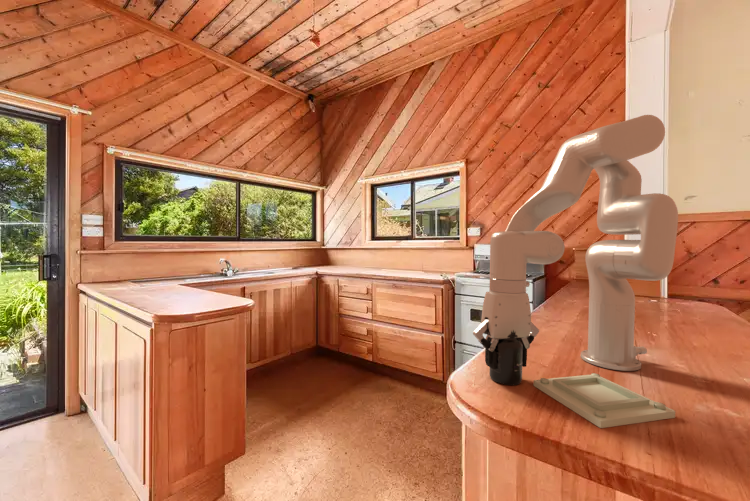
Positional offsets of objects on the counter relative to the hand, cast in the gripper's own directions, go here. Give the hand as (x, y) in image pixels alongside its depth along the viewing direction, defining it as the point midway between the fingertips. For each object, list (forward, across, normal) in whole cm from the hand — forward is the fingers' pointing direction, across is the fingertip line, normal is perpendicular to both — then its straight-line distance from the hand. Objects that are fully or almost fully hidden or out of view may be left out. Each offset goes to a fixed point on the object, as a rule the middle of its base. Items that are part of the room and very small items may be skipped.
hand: (505, 365), depth 72 cm
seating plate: (+3, -12, +12) cm, 17 cm away
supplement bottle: (+3, 0, 0) cm, 3 cm away
